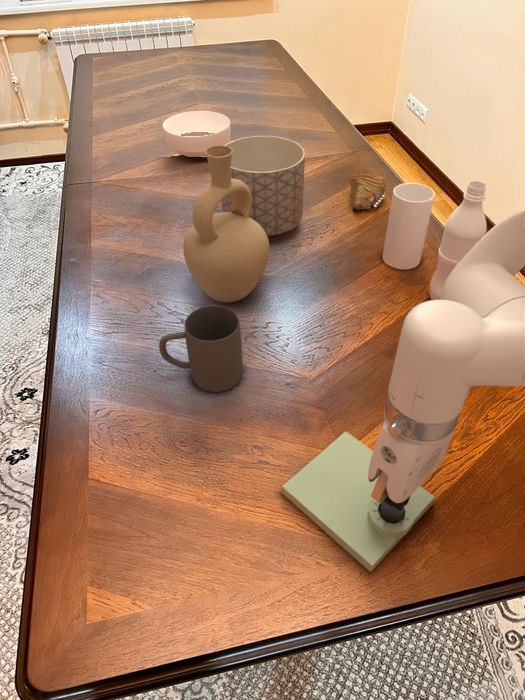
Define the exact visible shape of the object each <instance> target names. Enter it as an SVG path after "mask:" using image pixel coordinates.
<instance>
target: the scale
mask: <svg viewBox="0 0 525 700" xmlns="http://www.w3.org/2000/svg"><path fill="white" fill-rule="evenodd" d="M372 454H373V450H372V449H371V448H370V447H368V446H367V445H365V444H364V443H363V442H362V441H360V440H359V439H357V438H356V437H355V436H354V435H352V434H351V433H350V432H348V431H344V432H343V433H342V434H341V435H339V436H338V437H337V438H336V439H335V440H334V441H332V442H331V443H330V444H329V445H328V446H327V447H326V448H325V449H323V450H322V451H321V452H320V453H319V454H318V455H316V456H315V457H314V458H313V459H311V461H310V462H309V463H307V464H305V466H304V467H302V468H301V469H300V470H299V471H298V472H297V473H296V474H294V475H293V476H292V477H291V478H290V479H289V480H288V481H287V482H285V483H284V484H283V485H281V494H282V495H283V496H284V497H285V498H286V499H287V500H288V501H290V503H292V504H293V505H294V506H295V507H296V508H297V509H298V510H300V511H301V513H303V514H304V515H306V516H307V517H308V518H309V519H310V520H311V521H312V522H313V523H314V524H315V525H317V526H318V527H319V528H320V529H321V530H322V531H323V532H324V533H325V534H326V535H328V536H329V537H330V538H331V539H332V540H333V541H334V542H336V543H337V544H338V545H339V546H340V547H341V548H342V549H344V551H346V552H347V553H348V554H349V555H351V557H353V559H355V560H356V561H357V562H358V563H359V564H361V566H363V567H364V568H365V569H366V570H367V571H368V572H370V573H372V571H373V570H374V569H375V568H376V567H377V566H378V565H379V564H380V562H381V561H383V559H384V558H385V557H386V556H387V555H388V554H389V553H390V551H392V550H393V548H394V547H396V545H397V544H398V543H399V542H400V540H401V539H402V538H403V537H404V536H406V535H407V534H408V533H409V531H411V529H412V528H413V526H415V524H416V523H417V522H418V521H419V519H420V518H421V517H422V516H423V515H424V514H425V513H426V512H427V510H428V509H429V508H430V507H431V506H432V505H433V503H434V500H435V498H436V496H435V495H433V494H432V493H430V491H427V490H426V489H425V488H424V487H422V485H420V486H419V487H418V488H417V489H416V490H415V491H414V492H413V493H412V494H411V496H410V499H409V502H408V504H407V505H406V506H404V508H405V510H404V513H403V516H402V519H401V520H400V521H398V522H395V523H391V522H388V521H386V520H384V519H383V518H382V516H381V514H380V507H381V503H382V502H380V503H379V502H377V501H376V500H375V499H374V498H372V497H371V494H372V492H373V489H374V487H375V484H376V482H377V480H378V477H379V476H378V477H377V478H376V479H375V480H374V481H373V482H372V481H371V482H369V480H368V469H369V464H370V460H371V457H372Z"/></svg>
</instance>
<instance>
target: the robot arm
mask: <svg viewBox="0 0 525 700" xmlns="http://www.w3.org/2000/svg"><path fill="white" fill-rule="evenodd" d="M524 267H525V207H524V208H522V209H520V210H517V211H516V212H513V213H512V214H509V215H508V216H507V217H505V218H503V219H502V220H501V221H499V222H497V224H495V225H494V226H493V227H491V228H490V229H489V230H488V231H486V233H485V235H484V236H483V237H482V238H481V239H480V240H479V241H478V243H477V244H476V245H475V246H474V247H473V248H472V249H471V250H470V251H469V252H468V253H467V254H466V255H465V256H464V258H463V259H462V260H461V261H460V262H459V263H458V264H457V266H456V267H455V268H454V269H453V270H452V272H451V273H450V275H449V276H448V278H447V279H446V281H445V283H444V285H443V288H442V290H441V295H440V300H431V299H430V300H426V301H423V302H420V303H418V304H417V305H415V306H414V307H413V308H411V309H410V310H409V312H408V313H407V314H406V316H405V318H404V320H403V324H402V327H401V330H400V335H399V340H398V344H397V349H396V354H395V357H394V363H393V367H392V370H391V371H392V372H391V376H390V379H389V384H388V390H387V393H386V397H385V401H384V402H385V403H384V406H383V418H384V422H383V424H382V427H381V429H380V431H379V433H378V437H377V439H376V442H375V445H374V448H373V450H372V451H373V454H372V457H371V460H370V464H369V469H368V480H369V482H371V481H372V482H373V481H374V480H375V479H376V478H377V477H378V476H379V477H378V480H377V482H376V484H375V487H374V489H373V492H372V494H371V497H372V498H374V499H375V500H376V501H377V502H379V503H380V502H382V501H383V500H384V501H385V502H386V503H387V504H388V505H390V506H392V507H395V508H396V509H397V510H398V511H401V510H402V509H403V507H404V506H406V505H407V504H408V502H409V499H410V496H411V494H412V493H413V492H414V491H415V490H416V489H417V488H418V487H419V486H422V484H423V483H424V482H425V481H426V480H427V479H428V478H429V477H430V476H431V474H432V473H433V472H434V471H436V469H437V468H438V467H439V466H440V465H441V463H442V462H443V460H444V459H445V458H446V455H447V452H448V449H449V446H450V443H451V439H452V436H453V433H454V431H455V429H456V426H457V423H458V421H459V418H460V415H461V412H462V410H463V407H464V405H465V401H466V399H467V397H468V394H469V392H470V389H471V388H473V387H525V286H524V284H522V283H521V282H520V281H519V280H518V279H517V278H516V277H515V276H516V275H517V274H518V273H519V272H520V271H521V270H522V269H523V268H524Z"/></svg>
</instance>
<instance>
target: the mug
mask: <svg viewBox="0 0 525 700" xmlns="http://www.w3.org/2000/svg"><path fill="white" fill-rule="evenodd" d="M183 327H184V329H183V330H184V331H181V332H180V331H179V332H172V333H167V334H164V335H162V336H161V338H160V339H159V342H158V343H159V344H158V348H159V353H160V355H161V357H162V359H163V360H164V361H166V362H167V363H169V364H171V366H175V367H177V368H181V369H187V370H189V369H190V375H191V377H192V380H193V382H194V384H195V385H196V386H197V387H198V388H200V389H201V390H203V391H206V392H210V393H220V392H225V391H229V390H231V389H233V388H234V387H235V386H237V385H238V384H239V383H240V381H241V379H242V377H243V370H244V369H243V367H244V364H243V362H244V361H243V345H242V330H241V329H242V328H241V322H240V318H239V316H238V314H237V313H236V312H235V311H234V310H232V309H231V308H229V307H227V306H223V305H215V304H213V305H212V304H211V305H205V306H202V307H199V308H196V309H194V310H193V311H192V312H190V313H189V314H188V315H187V317H186V318H185V321H184V326H183ZM182 339H185V344H186V352H187V356H188V357H187V358H188V361H183V360H180V359H177V358H175V357H174V356H172V355H170V354H169V353H168V350H167V343H168V342H169V341H173V340H182Z"/></svg>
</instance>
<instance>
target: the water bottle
mask: <svg viewBox="0 0 525 700" xmlns="http://www.w3.org/2000/svg"><path fill="white" fill-rule="evenodd" d="M486 190H487V184H486V183H485V182H483V181H480V180H471V181H469V182H468V184H467V188H466V189H465V191H464V193H463V195H462V196H463V199H462V202H461V203H460V204H459V205H458V207H456V209H454V210H453V211H452V213H451V214H449V216H448V217H447V219H446V220H445V221H446V222H445V224H444V231H443V234H442V238H441V241H440V246H439V247H438V252H437V253H438V259H437V265H436V269H435V272H434V274H433V276H432V277H431V279H430V283H429V289H428V291H429V299H430V300H440V295H441V290H442V288H443V285H444V283H445V281H446V279H447V278H448V276H449V275H450V273H451V272H452V270H453V269H454V268H455V267H456V266H457V264H458V263H459V262H460V261H461V260H462V259H463V258H464V256H465V255H466V254H467V253H468V252H469V251H470V250H471V249H472V248H473V247H474V246H475V245H476V244H477V243H478V241H479V240H480V239H481V238H482V237H483V236H484V235H485V234H486V233H487V228H488V227H487V226H488V225H487V220H486V215H485V212H484V208H483V202H484V201H485V199H486Z"/></svg>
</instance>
